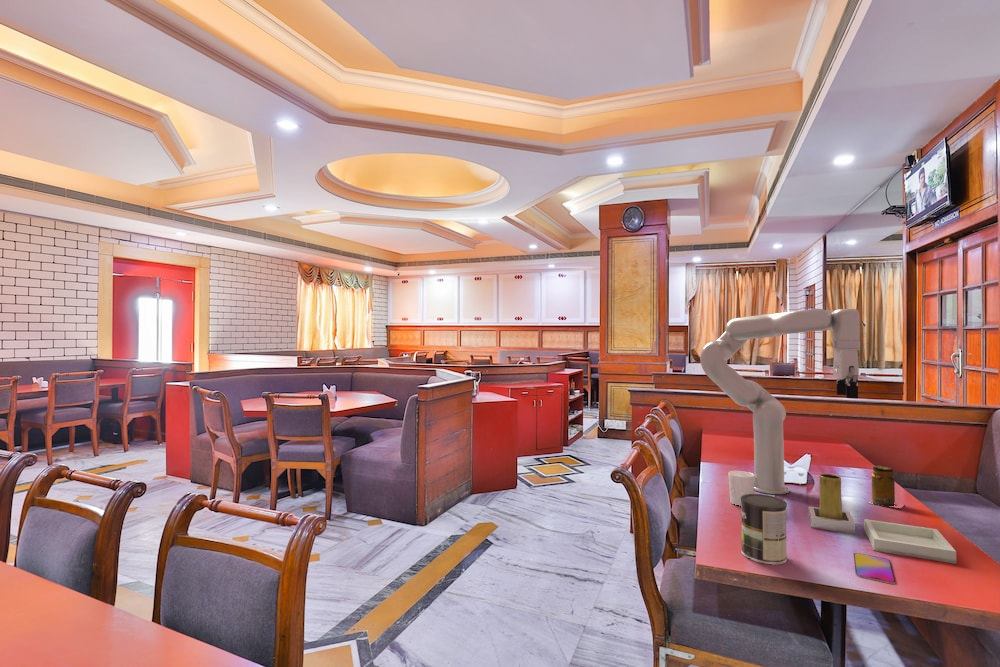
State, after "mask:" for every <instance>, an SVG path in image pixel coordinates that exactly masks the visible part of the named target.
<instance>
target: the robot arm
mask: <svg viewBox="0 0 1000 667" xmlns="http://www.w3.org/2000/svg"><path fill="white" fill-rule="evenodd" d="M860 326H861V325H860V311H859V310H858V309H856V308H843V309H842V308H840V309H835V310H827V309H826V310H825V309H822V308H808V309H802V310H794V311H787V312H774V313H766V314H765V313H764V314H757V315H749V316H741V317H735V318H731V319H729V321H727V323H726V325H725V331H724V332H723V333H722V335H720V337H718V338H717V340H711V341H708V342H707V343H705V345H704V346H703V347H702V350H701V352H700V357H699V358H700V365H701V368H702V370H703V372H704V374H706V376H707V377H708V378H709V379H710V380H711V381H712V382H713V383H714V384H715V385H716V386H717V387H718V388H720V390H721V391H723V393H725V394H726V395H727V396H728V397H729V398H730V399H731V400H732V401H733V402H734V403H735V404H737V405H739V406H741V407H747V408H748V409H749V410H750V411H751V412H752V428H753V429H752V430H753V453H754V454H753V455H754V456H753V457H754V460H753V461H754V465H753V466H754V468H753V472H754V473H753V474H754V475H755V479H754V492H755V491H756V492H758V493H761V494H762V493H763V494H769V495H785V494H786V493H787V494H789V493H790V488H789V487H788V486H787V485H785V445H784V444H785V442H784V441H785V440H784V439H785V438H784V421H785V419H786V417H787V411H786V408H785V406H784V405H783V403H781V402H780V401H779V400H778V399H777V398H776V397H774V396H773V395H772V394H771V393H770V392H769V391H767V390H766V389H765V388H764V386H761V385H760V384H759V383H758V382H756V381H754V380H750V379H745V378H744V376H742V375H741V374H740V373H738V372H737V371H736V370H735V369H733V368H732V367H731V366H730V365H728V364H727V362H726V361H728V360H730V359H731V358H733V356H734V355H735V354H736V353H737V352H738V351H739V350H740V349H741V348H742V347H743V346H744V345H745V343H746V342H747V341H748V340H753V339H766V338H773V337H775V338H776V337H781V336H784V335H789V334H790V335H791V334H799V333H808V332H809V333H810V332H825V331H832V350H833V353H834V354H833V368H832V370H833V371H832V376H833V377H834V378H835V379H836V380H835V384H836V388H835V389H836V390H835V391H836V392H835V394H836V395H838V396H845V398H847V399H858V398H859V383H858V381H859V373H860V372H859V371H860V369H859V354H858V351H860V350H861V339H860V338H861V335H860V334H861V331H860V330H861V329H860ZM787 494H786V495H787Z"/></svg>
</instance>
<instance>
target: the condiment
mask: <svg viewBox="0 0 1000 667" xmlns="http://www.w3.org/2000/svg"><path fill="white" fill-rule="evenodd" d="M893 471H894V469H893V468H892V467H889V466H882V465H873V467H872V473H871V501H872V502H873V503H875V504H878V505H877V506H879V505H883V506H882V507H887V506H894V505H895V504H894V503H896V497H895V495H896V492H895V490H896V488H895V485H896V483H895V481H896V480H895V477H894V472H893ZM873 503H871V502H870V501H868V502H867V504H872V505H874V504H873ZM887 508H888V507H887ZM890 508H891V509H895V510H896V509H897V510H901V509H902V508H899V509H898V508H894V507H889V509H890Z"/></svg>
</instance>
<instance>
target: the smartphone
mask: <svg viewBox="0 0 1000 667" xmlns="http://www.w3.org/2000/svg"><path fill="white" fill-rule="evenodd" d="M853 561H854V562H853V563H854V573H855V576H856V577H858V578H861V579H866V580H871V581H874V582H879V583H883V584H884V583H885V584H889V585H895V584H896V578H895V574H894V570H893V567H892V564H891V560H890V559H888V558H886V557H885V558H884V557H880V556H876V555H875V556H874V555H871V554H865V553H859V552H854V553H853Z"/></svg>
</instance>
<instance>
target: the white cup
mask: <svg viewBox="0 0 1000 667" xmlns="http://www.w3.org/2000/svg"><path fill="white" fill-rule="evenodd" d="M727 473H728V474H727V476H728V488H729V499H730V504H731V505H733V504H735V505H734V506H736V505H739V506H738V507H740V506H741V496H743V495H746V494H755V490H754V479H755V475H754V473H752V472H749V471H746V470H745V471H744V470H730V471H728V472H727Z"/></svg>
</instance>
